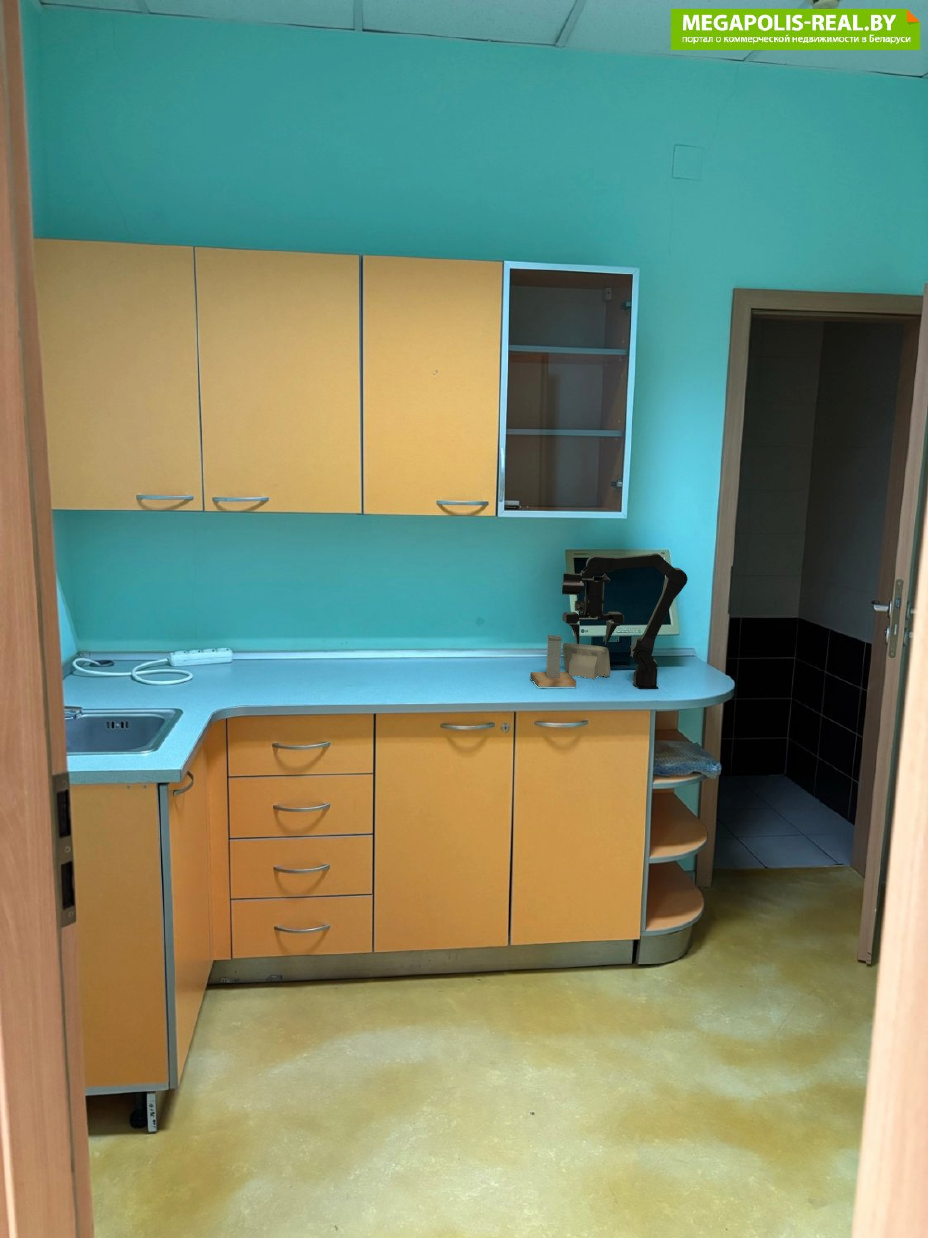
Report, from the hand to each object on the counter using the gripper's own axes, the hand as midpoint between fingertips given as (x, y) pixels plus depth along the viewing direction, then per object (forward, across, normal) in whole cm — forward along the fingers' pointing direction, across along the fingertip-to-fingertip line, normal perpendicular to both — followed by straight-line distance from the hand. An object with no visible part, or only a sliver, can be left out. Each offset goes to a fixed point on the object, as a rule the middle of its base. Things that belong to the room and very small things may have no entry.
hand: (591, 644), depth 295 cm
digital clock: (+13, -2, -12) cm, 18 cm away
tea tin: (+10, +12, -1) cm, 16 cm away
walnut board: (+13, +12, -1) cm, 18 cm away
